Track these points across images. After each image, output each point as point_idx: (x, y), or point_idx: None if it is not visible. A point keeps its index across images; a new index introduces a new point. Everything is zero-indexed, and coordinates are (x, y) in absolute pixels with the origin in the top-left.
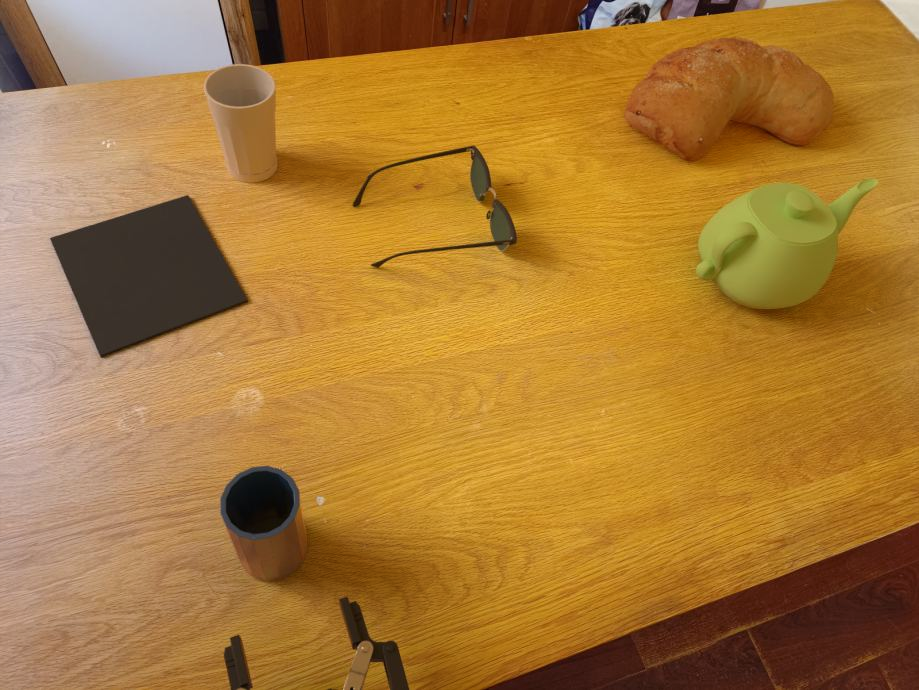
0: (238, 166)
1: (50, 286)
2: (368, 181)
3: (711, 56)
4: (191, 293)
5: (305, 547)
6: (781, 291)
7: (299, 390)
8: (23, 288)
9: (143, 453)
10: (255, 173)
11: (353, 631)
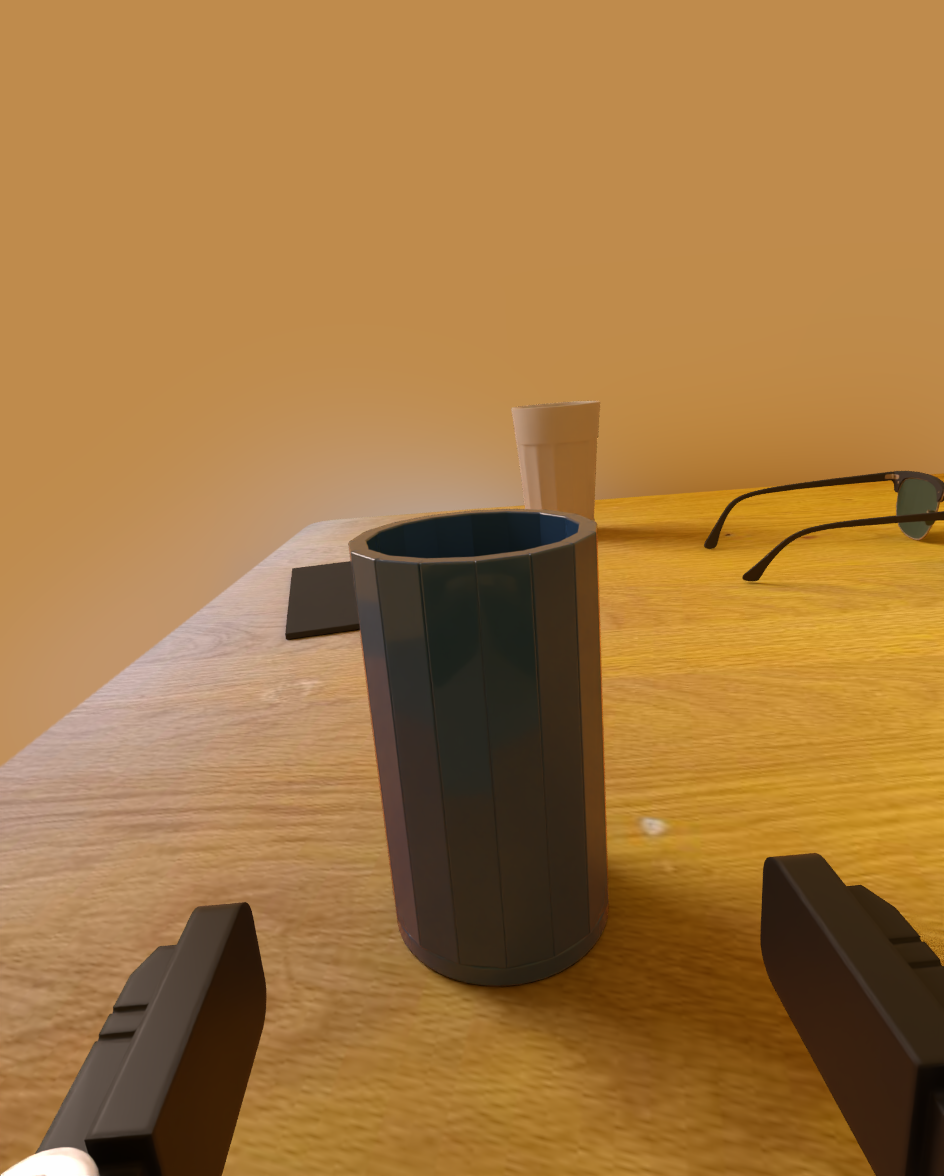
0: None
1: (266, 596)
2: (728, 511)
3: None
4: None
5: (603, 883)
6: None
7: (609, 677)
8: (234, 597)
9: (280, 726)
10: None
11: (899, 992)
